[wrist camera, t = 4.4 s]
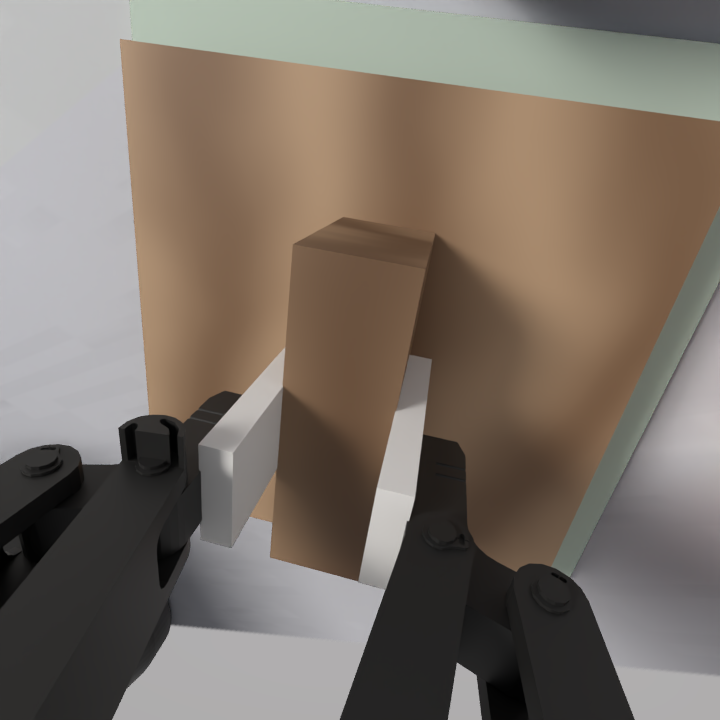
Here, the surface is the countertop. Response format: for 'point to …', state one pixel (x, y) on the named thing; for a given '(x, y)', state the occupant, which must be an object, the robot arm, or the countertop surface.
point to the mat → (500, 73)
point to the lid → (407, 276)
